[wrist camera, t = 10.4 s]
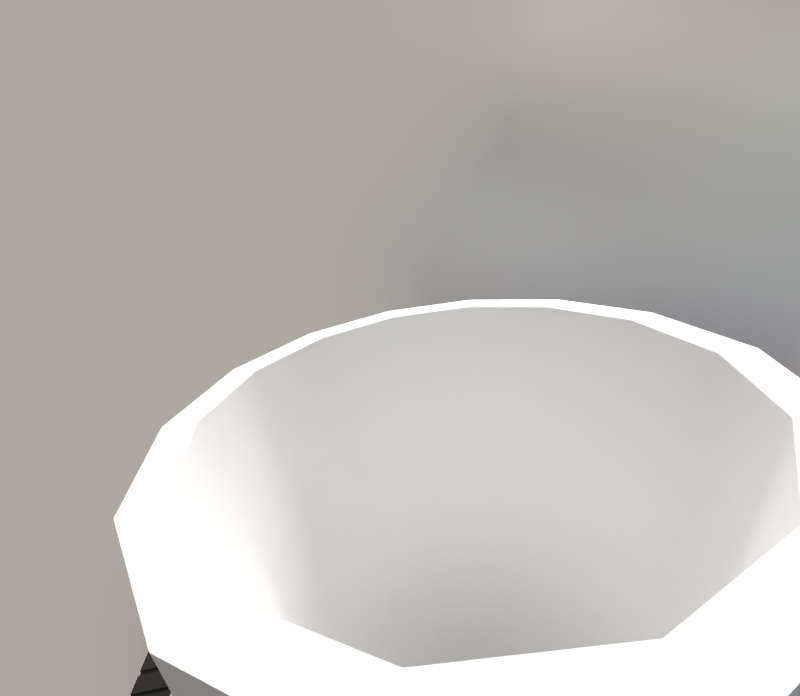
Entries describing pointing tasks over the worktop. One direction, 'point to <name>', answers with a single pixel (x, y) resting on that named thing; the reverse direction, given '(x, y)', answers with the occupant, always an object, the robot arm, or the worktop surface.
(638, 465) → the foam cup
